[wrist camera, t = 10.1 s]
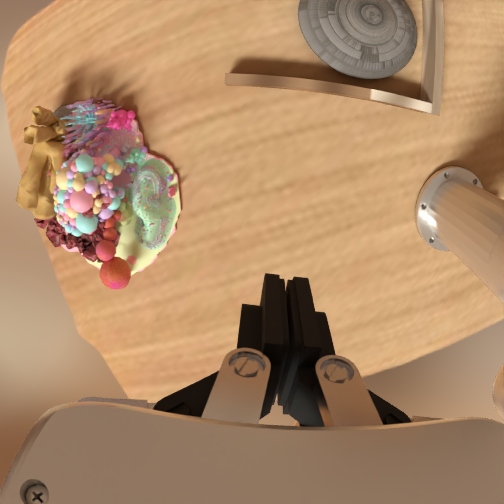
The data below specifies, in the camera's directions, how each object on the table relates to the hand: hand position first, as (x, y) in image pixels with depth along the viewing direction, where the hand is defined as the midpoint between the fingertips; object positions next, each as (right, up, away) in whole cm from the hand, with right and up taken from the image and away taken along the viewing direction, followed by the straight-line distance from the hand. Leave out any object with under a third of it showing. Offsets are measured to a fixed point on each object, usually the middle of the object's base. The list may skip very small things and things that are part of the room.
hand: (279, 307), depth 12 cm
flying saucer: (+12, +30, +17) cm, 36 cm away
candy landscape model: (-22, +11, +27) cm, 36 cm away
